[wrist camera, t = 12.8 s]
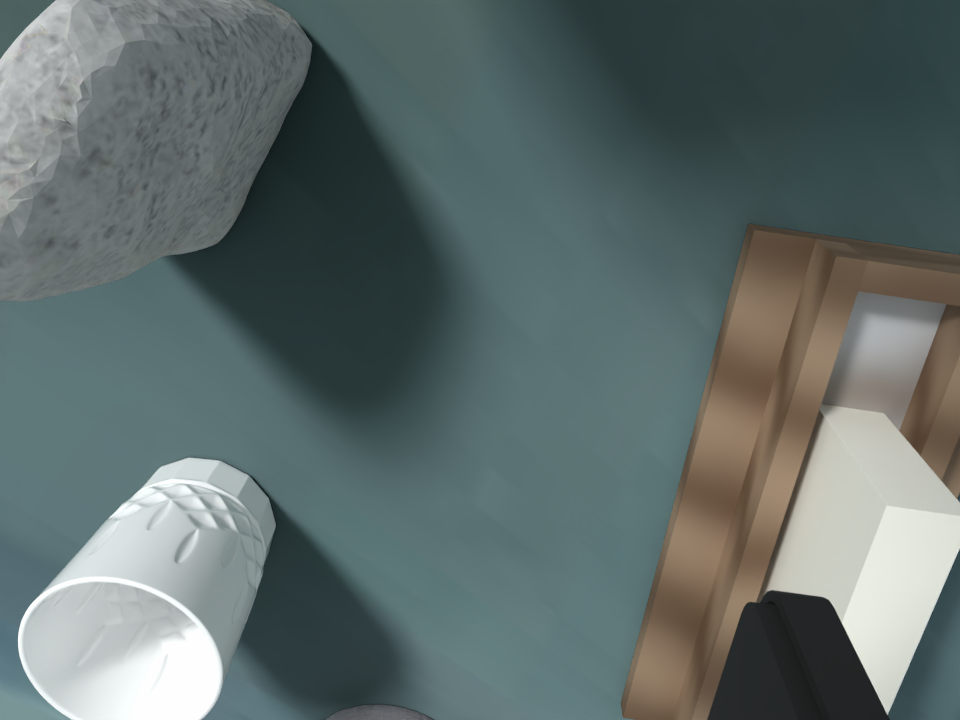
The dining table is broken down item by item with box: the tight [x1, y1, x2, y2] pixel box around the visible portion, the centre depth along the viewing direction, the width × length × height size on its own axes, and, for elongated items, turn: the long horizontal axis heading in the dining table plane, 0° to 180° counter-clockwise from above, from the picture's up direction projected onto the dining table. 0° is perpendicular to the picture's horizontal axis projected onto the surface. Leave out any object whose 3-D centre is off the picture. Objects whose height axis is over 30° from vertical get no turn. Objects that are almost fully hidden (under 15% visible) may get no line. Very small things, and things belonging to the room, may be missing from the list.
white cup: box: [18, 458, 276, 720], centre depth 38 cm, size 8×8×10 cm
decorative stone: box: [0, 0, 312, 301], centre depth 28 cm, size 11×6×15 cm, turn 142°
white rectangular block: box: [756, 404, 960, 715], centre depth 36 cm, size 12×3×8 cm, turn 172°
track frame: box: [621, 224, 960, 720], centre depth 39 cm, size 26×12×3 cm, turn 172°
